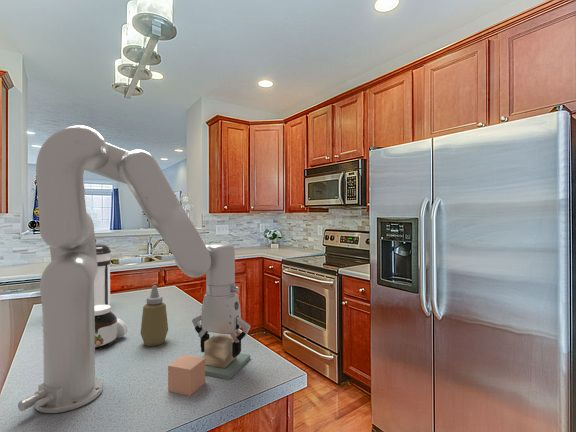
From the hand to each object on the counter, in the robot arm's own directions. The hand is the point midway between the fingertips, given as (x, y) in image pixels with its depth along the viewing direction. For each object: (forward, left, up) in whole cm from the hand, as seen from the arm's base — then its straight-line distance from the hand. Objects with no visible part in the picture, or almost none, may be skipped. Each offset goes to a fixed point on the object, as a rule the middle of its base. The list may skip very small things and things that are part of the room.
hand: (220, 352), depth 87 cm
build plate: (0, 0, -3) cm, 3 cm away
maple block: (0, 0, -2) cm, 2 cm away
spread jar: (+1, +42, -4) cm, 42 cm away
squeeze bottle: (+6, +27, -3) cm, 28 cm away
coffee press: (+22, +73, -3) cm, 76 cm away
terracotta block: (-12, +2, -3) cm, 13 cm away
